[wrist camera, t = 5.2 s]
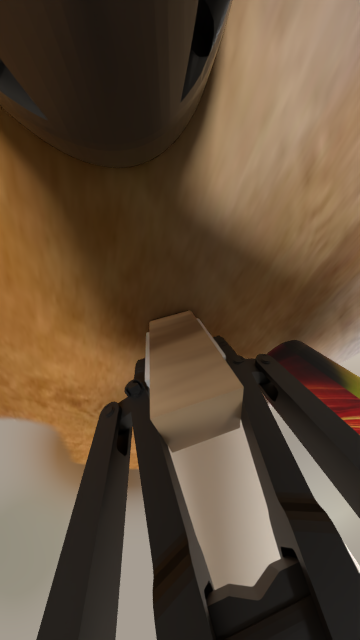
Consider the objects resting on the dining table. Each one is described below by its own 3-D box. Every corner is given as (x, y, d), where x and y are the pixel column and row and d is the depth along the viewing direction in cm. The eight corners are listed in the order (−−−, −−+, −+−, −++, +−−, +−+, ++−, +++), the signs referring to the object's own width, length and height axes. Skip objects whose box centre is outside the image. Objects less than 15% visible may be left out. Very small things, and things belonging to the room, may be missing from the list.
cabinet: (154, 415, 25) (166, 776, 8) (240, 386, 27) (406, 636, 9) (172, 444, 33) (197, 657, 16) (237, 420, 34) (326, 591, 17)
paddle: (149, 321, 15) (149, 419, 6) (190, 310, 15) (243, 387, 7) (185, 420, 28) (202, 498, 19) (208, 412, 28) (234, 485, 19)
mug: (261, 393, 30) (320, 468, 20) (256, 355, 23) (344, 441, 13) (300, 375, 30) (379, 441, 20) (307, 331, 23) (437, 399, 12)
